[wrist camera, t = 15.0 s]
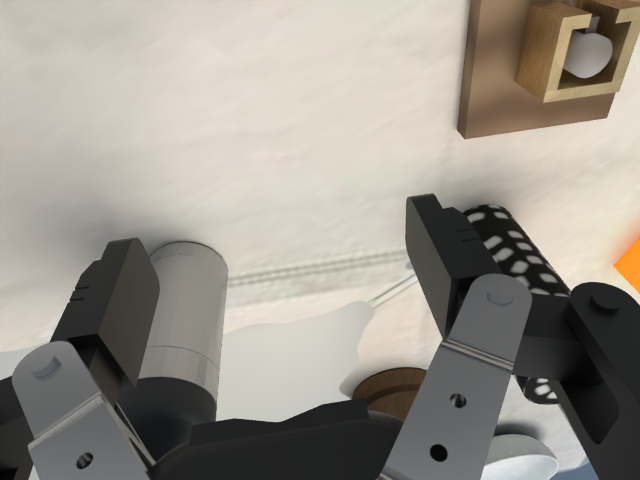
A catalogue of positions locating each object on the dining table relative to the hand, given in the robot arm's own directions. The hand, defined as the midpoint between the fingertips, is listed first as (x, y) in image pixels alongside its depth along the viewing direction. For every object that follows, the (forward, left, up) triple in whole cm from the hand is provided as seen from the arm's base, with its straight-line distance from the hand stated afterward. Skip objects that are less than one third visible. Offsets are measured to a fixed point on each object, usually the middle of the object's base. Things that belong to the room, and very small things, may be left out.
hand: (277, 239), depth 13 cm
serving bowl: (-86, -32, -28) cm, 96 cm away
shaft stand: (-4, -24, -28) cm, 37 cm away
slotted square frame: (-4, -24, -26) cm, 36 cm away
